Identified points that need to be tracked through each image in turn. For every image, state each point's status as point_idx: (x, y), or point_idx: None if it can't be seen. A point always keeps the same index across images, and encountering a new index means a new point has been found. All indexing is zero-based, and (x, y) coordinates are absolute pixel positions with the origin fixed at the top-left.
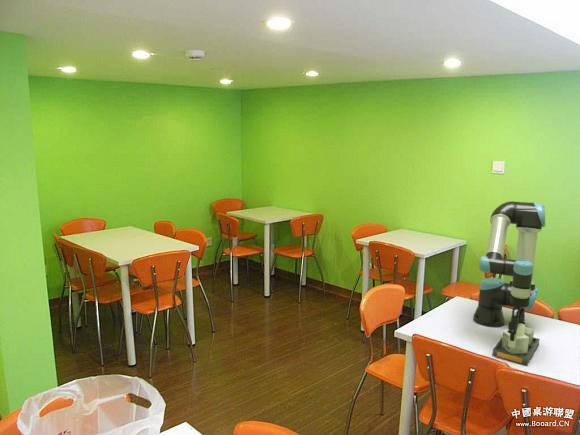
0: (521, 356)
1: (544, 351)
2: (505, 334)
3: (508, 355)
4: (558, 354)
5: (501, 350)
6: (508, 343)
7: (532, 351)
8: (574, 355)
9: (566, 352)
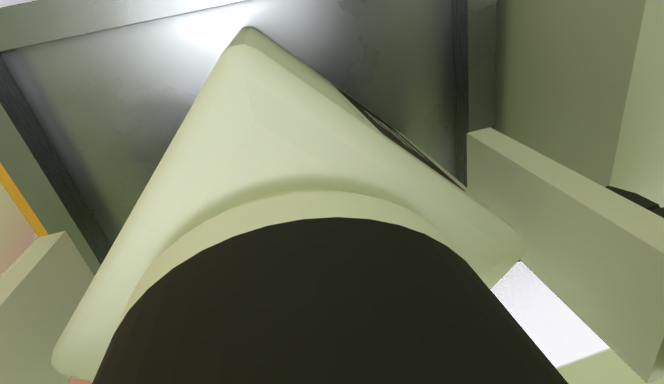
0: None
1: (522, 262)
2: (172, 140)
3: (38, 225)
4: (529, 322)
5: (130, 83)
6: (7, 270)
7: None
8: (570, 362)
9: (589, 329)
